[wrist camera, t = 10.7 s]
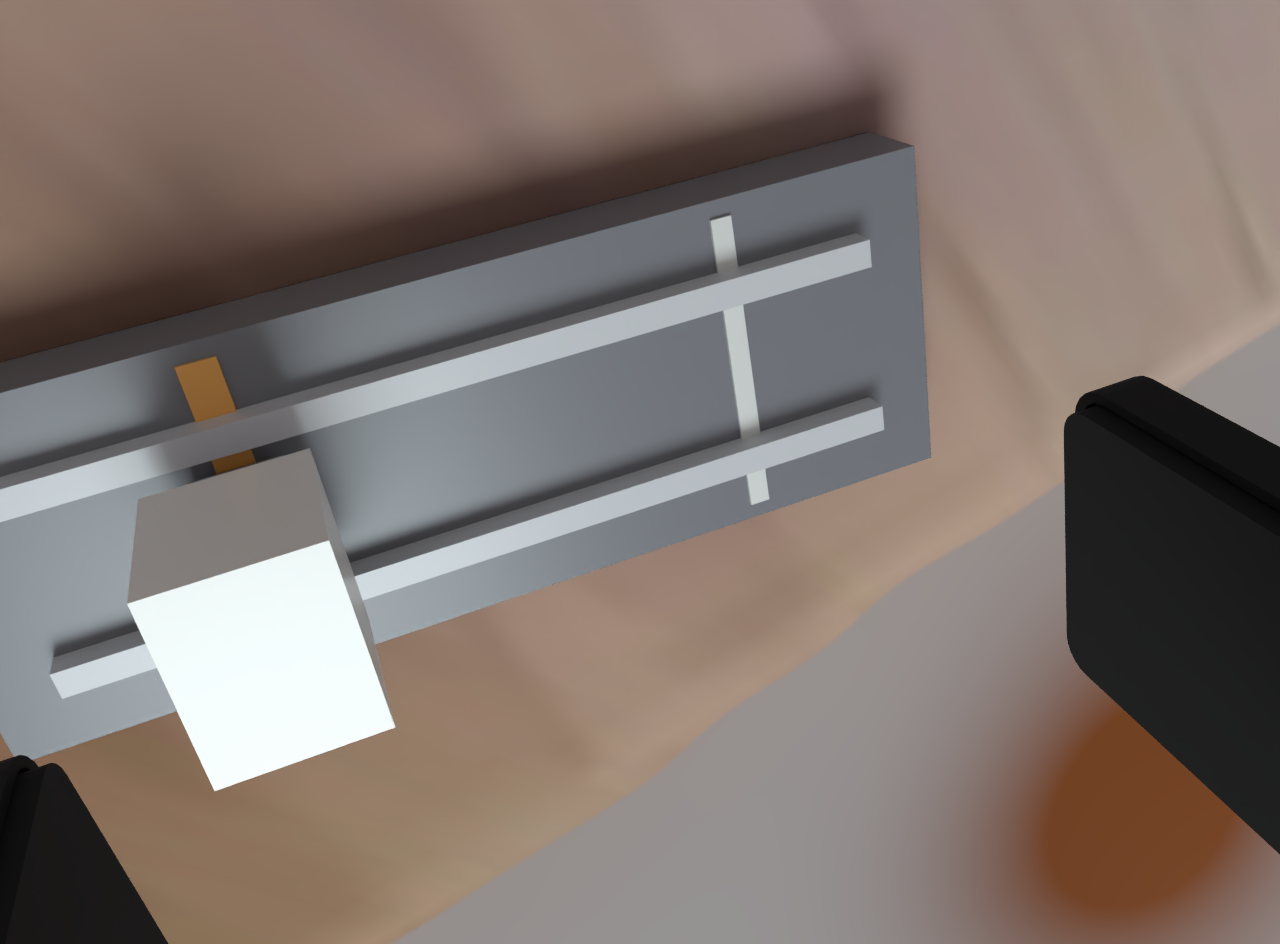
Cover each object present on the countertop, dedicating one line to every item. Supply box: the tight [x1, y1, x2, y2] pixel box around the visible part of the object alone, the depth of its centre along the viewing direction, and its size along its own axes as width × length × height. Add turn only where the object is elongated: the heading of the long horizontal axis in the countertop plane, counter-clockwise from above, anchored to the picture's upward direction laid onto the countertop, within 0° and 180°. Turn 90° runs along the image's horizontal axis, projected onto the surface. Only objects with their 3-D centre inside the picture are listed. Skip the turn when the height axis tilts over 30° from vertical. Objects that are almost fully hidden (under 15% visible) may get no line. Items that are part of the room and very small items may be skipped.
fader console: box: [0, 132, 931, 760], centre depth 32 cm, size 28×10×3 cm, turn 101°
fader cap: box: [127, 448, 395, 791], centre depth 27 cm, size 4×5×7 cm
